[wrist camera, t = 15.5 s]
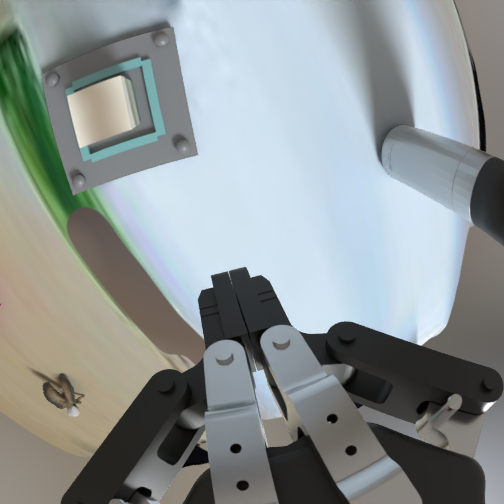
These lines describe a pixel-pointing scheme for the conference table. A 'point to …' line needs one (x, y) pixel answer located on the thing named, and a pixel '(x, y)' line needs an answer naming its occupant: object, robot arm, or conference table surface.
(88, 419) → the conference table surface
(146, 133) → the baseplate
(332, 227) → the conference table surface
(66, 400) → the eagle figurine
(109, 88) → the beige block
